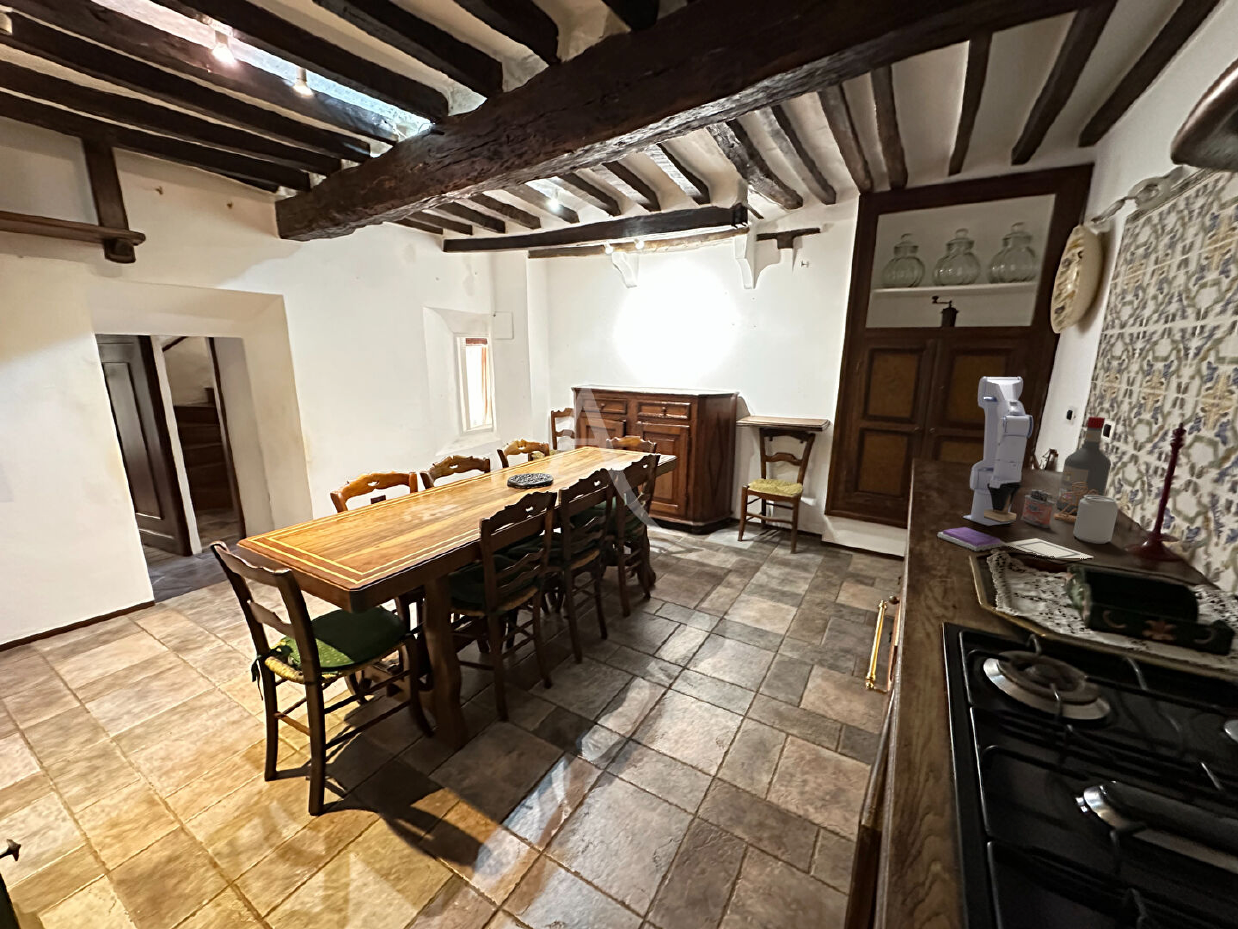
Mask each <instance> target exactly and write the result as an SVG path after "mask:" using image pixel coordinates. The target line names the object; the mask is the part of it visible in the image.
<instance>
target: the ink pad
mask: <svg viewBox="0 0 1238 929" xmlns="http://www.w3.org/2000/svg"><path fill="white" fill-rule="evenodd" d="M937 536H938V537H937V538H940V539H942V540H944V541H948V542H951V543H953V544H955V545H958V546H960V547H963V548H965V547H966V548H965V549H968V548H969V549H968V550H970V549H971V551H973V550H974V552H981V551H980V550H982V551H987V550H986V549H988V550H992V549H991V548H994V549H996V548H995V547H1000V548H1002V547H1001V546H1004V547H1006V546H1005V543H1006V542H1005V541H1002V540H1001V538H998V537H995V536H992V535H990V534H986V533H984V532H980V531H978V530H974V529H972V528H969V527H966V526H965V527H958V528H957V527H956V528H949V529H945V530H943V531H939V532H937Z"/></svg>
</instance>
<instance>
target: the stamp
mask: <svg viewBox="0 0 1238 929" xmlns="http://www.w3.org/2000/svg"><path fill="white" fill-rule="evenodd" d="M1010 498H1011V495H1009V497H1008V499H1007V502H1006V505H1005V508H1004V510H1003V511H997V510H993V509H991V510H984V518H987V519H990V520H993V521H996V522H999V523H1004V524H1008V523H1007V522H1011V523H1012V522H1015V521H1016V519H1017V513H1014V512H1011V511H1010V512H1008V509H1009V503H1010Z"/></svg>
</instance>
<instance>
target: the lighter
mask: <svg viewBox="0 0 1238 929" xmlns="http://www.w3.org/2000/svg"><path fill="white" fill-rule="evenodd" d="M1024 499H1025V501H1024V505H1023V511H1022V516H1021V517H1020V520H1021V521H1024V522H1026V523H1027V524H1028V523H1029V524H1031V525H1035V526H1038V527H1041V528H1045V529H1046V528H1050V526H1051V523H1050V522H1051V519H1052V518H1051V517H1052V511H1053V507H1054V506H1055V501H1051V500H1050V499H1053V494H1052V493H1049V492H1045V491H1044V490H1043V489H1042V490H1040V489H1030V494H1026V495H1024Z"/></svg>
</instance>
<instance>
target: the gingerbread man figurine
mask: <svg viewBox="0 0 1238 929" xmlns="http://www.w3.org/2000/svg"><path fill="white" fill-rule="evenodd" d="M1078 483H1082V484H1085V483H1083V482H1077V483H1074V484H1073V485H1072V491H1073V492H1067V493H1064V494H1062V495H1061V496H1060V498H1059V500H1060V499H1061V498H1062V499H1064V500H1066V501H1065V502H1063V501H1061V500H1060V502H1062V503H1066V502H1067V501H1068V499H1071V500H1070V504H1069V505H1068V506H1067V507H1066V508H1065V509H1064V510H1062V509H1061V511H1060V512H1059V513H1057V512H1056V513H1053V516H1052V517H1053V520H1056V521H1064V522H1069V523H1070V522H1071V523H1075V522H1076V517H1077V515H1076V516H1075V515H1071V514H1073V513H1072V512H1074V511H1075V510H1076V511H1077V509H1076V508H1075V509H1074V510H1072V511H1071V512H1070V513H1069V512H1067V511H1065V510H1066V509H1067V508H1068V507H1069V506H1070V505H1074V506H1075V505H1076V506H1077V505H1078V504H1077V503H1079V502H1078V499H1079V496H1080V497H1082V496H1083V495H1089V494H1092V495H1098V492H1097V491H1096V490H1090V491H1089V493H1088V494H1084V493H1086V492H1087V491H1088V486H1087V484H1085V485H1086V486H1087V488H1085V487H1083V486H1082V487H1079V486H1074V485H1075V484H1078ZM1073 487H1076V488H1077V489H1078V488H1081V489H1087V490H1086V491H1085V490H1083V491H1077V490H1076V489H1075V490H1076V491H1077V492H1078V494H1077V492H1075V491H1074V490H1073ZM1084 491H1085V492H1084ZM1091 491H1096V492H1097V494H1093V493H1091ZM1080 492H1083V493H1081V494H1079V493H1080ZM1068 493H1072V494H1075V495H1074V496H1078V497H1077V501H1076V504H1074V503H1073V504H1072V503H1071V502H1072V498H1067V499H1066V498H1063V497H1062V496H1063V495H1065V494H1068ZM1078 506H1079V505H1078ZM1077 512H1078V511H1077Z"/></svg>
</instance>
